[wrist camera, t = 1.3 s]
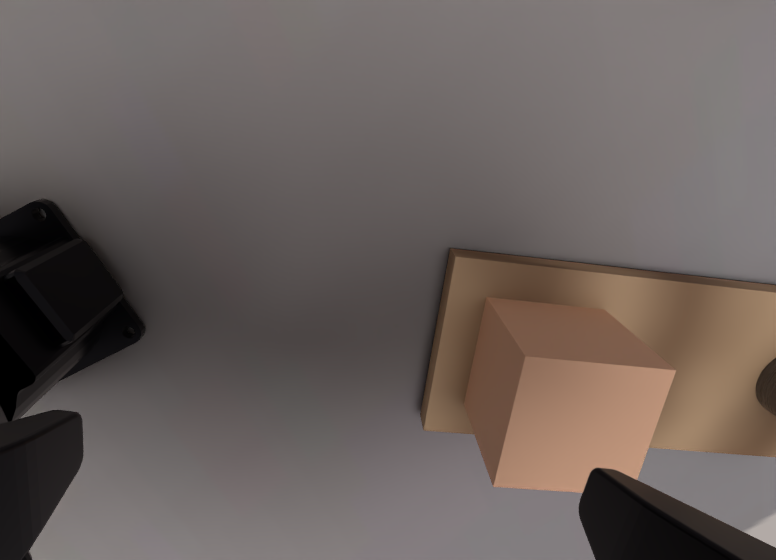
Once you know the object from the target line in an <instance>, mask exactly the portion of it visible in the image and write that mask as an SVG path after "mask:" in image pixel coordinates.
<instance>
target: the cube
mask: <svg viewBox="0 0 776 560" xmlns="http://www.w3.org/2000/svg"><path fill="white" fill-rule="evenodd" d="M675 373H676V370H675V369H674V368H673V367H672V366H670V365H669V364H668V363H667V362H666V361H665V360H663V359H662V358H661V357H660V356H659V355H658V354H656V353H655V352H654V351H653V350H652V349H650V348H649V347H648V346H647V345H646V344H645V343H643V342H642V341H641V340H640V339H639V338H638V337H636V336H635V335H634V334H633V333H632V332H630V331H629V330H628V329H627V328H626V327H625V326H623V325H622V324H621V323H620V322H619V321H618V320H616V319H615V318H614V317H613V316H612V315H610V314H609V313H608V312H607V311H606V310H605V309H595V308H586V307H576V306H567V305H557V304H548V303H538V302H528V301H519V300H509V299H500V298H490V297H486V301H485V306H484V311H483V316H482V320H481V325H480V330H479V335H478V339H477V344H476V349H475V354H474V358H473V363H472V368H471V373H470V377H469V382H468V387H467V392H466V396H465V401H464V406H465V409H466V412H467V415H468V417H469V420H470V423H471V426H472V429H473V431H474V434H475V437H476V440H477V443H478V445H479V448H480V451H481V454H482V457H483V459H484V462H485V465H486V468H487V471H488V473H489V476H490V479H491V482H492V485H493V487H505V488H520V489H535V490H550V491H565V492H581V493H583V491H584V488H585V485H586V482H587V480H588V477H589V474H590V472H591V471H592V470H593V469H594V468H607V469H614V470H617V471H619V472H622V473H624V474H626V475H628V476H630V477H632V478H634V479H636V480H637V479H638V476H639V473H640V470H641V467H642V465H643V462H644V459H645V456H646V454H647V451H648V448H649V445H650V442H651V440H652V437H653V434H654V431H655V428H656V426H657V423H658V420H659V417H660V414H661V412H662V409H663V406H664V403H665V400H666V398H667V395H668V392H669V389H670V387H671V384H672V381H673V378H674V375H675Z"/></svg>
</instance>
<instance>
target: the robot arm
mask: <svg viewBox="0 0 776 560" xmlns="http://www.w3.org/2000/svg"><path fill="white" fill-rule="evenodd" d="M39 208H41V209H43V210H44V211H45V213H46V219H44V218H42V217H41V216H40V215H39V213H38V209H39ZM122 295H123V292H122V290H121V289H120V287H119V286H118V285H117V283H116V282H115V280H114V279H113V278H112V276H111V275H110V274H109V272H108V271H107V270H106V268H105V267H104V266H103V264H102V263H101V262H100V260H99V259H98V257H97V256H96V255H95V253H94V252H93V251H92V249H91V248H90V247H89V245H88V244H87V243H86V242H85V241H83V240H81V239H80V238H79V237H78V235H77V234H76V233H75V231H74V230H73V228H72V227H71V226H70V224H69V223H68V222H67V220H66V219H65V218H64V216H63V215H62V214H61V212H60V211H59V210H58V208H57V207H56V206H55V205H54V204H53V203H52V202H50V201H48V200H43V199H41V200H37V201H34V202H31V203H29V204H27V205H25V206H23V207H22V208H20V209H18V210H16V211H14V212H12V213H11V214H9V215H7V216H5V217H3V218H1V219H0V560H32V556H31V554H30V552H29V550H30V548H31V547H32V545H33V543H34V542H35V540H36V539H37V537H38V536H39V534H40V533H41V531H42V529H43V528H44V526H45V525H46V523H47V521H48V520H49V518H50V516H51V515H52V513H53V511H54V510H55V508H56V506H57V505H58V503H59V502H60V500H61V498H62V497H63V495H64V493H65V492H66V490H67V488H68V487H69V485H70V484H71V482H72V480H73V479H74V477H75V475H76V474H77V472H78V470H79V468H80V466H81V463H82V459H83V427H82V418H81V415H80V414H79V413H77V412H72V411H63V410H52V411H48V412H44V413H40V414H36V415H33V416H29V417H25V418H21V417H22V416H23V415H24V414H25V413H26V412H27V411H28V410H29V409H30V408H31V407H32V406H33V405H34V404H35V403H36V402H37V401H38V400H39V399H40V398H41V397H42V396H43V395H44V394H45V393H47V392H48V391H49V390H50V389H51V388H52V387H53V386H54V385H55V384H56V383H57V382H58V381H60V380H62V379H64V378H66V377H68V376H70V375H72V374H74V373H76V372H78V371H80V370H82V369H84V368H86V367H88V366H90V365H92V364H94V363H96V362H98V361H100V360H102V359H104V358H106V357H108V356H110V355H112V354H114V353H116V352H118V351H120V350H122V349H124V348H126V347H128V346H130V345H132V344H134V343H136V342H137V341H138V340H140V338H141V337H142V336H143V335H144V333H145V327H144V325H143V323H142V322H141V320H140V319H139V317H138V316H137V315H136V313H135V312H134V311H133V309H132V308H131V307H130V305H129V304H128V303H127V301H126V300H125V299H124V297H123V296H122ZM126 327H131V328H132V329H134V331H135V334H131V333H129V332H128V331H127V329H126ZM19 418H21V419H19ZM579 516H580V520H581V522H582V525H583V528H584V530H585V533H586V536H587V538H588V541H589V544H590V546H591V549H592V551H593V554H594V557H595V559H596V560H776V548H775V547H773V546H771V545H769V544H766V543H765V542H763V541H760V540H758V539H756V538H754V537H752V536H750V535H748V534H746V533H744V532H742V531H740V530H738V529H736V528H734V527H732V526H730V525H728V524H726V523H724V522H722V521H720V520H718V519H716V518H714V517H712V516H709V515H707V514H705V513H703V512H701V511H699V510H697V509H695V508H693V507H691V506H689V505H687V504H685V503H683V502H681V501H679V500H677V499H675V498H673V497H671V496H669V495H667V494H664V493H662V492H660V491H658V490H656V489H654V488H652V487H650V486H648V485H646V484H644V483H642V482H640V481H638V480H636V479H634V478H632V477H630V476H628V475H626V474H624V473H622V472H619V471H617V470H614V469H607V468H594V469H593V470H592V471H591V472H590V474H589V477H588V480H587V482H586V485H585V488H584V491H583V494H582V496H581V499H580V503H579Z"/></svg>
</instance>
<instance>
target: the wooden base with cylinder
mask: <svg viewBox="0 0 776 560" xmlns="http://www.w3.org/2000/svg"><path fill="white" fill-rule="evenodd" d="M486 297H490V298H500V299H509V300H519V301H528V302H538V303H548V304H557V305H567V306H576V307H586V308H595V309H605V310H606V311H607V312H608V313H609V314H610V315H612V316H613V317H614V318H615V319H616V320H618V321H619V322H620V323H621V324H622V325H623V326H625V327H626V328H627V329H628V330H629V331H630V332H632V333H633V334H634V335H635V336H636V337H638V338H639V339H640V340H641V341H642V342H643V343H645V344H646V345H647V346H648V347H649V348H650V349H652V350H653V351H654V352H655V353H656V354H658V355H659V356H660V357H661V358H662V359H663V360H665V361H666V362H667V363H668V364H669V365H670V366H672V367H673V368H674V369H675V370H676V373H675V375H674V378H673V381H672V384H671V387H670V389H669V392H668V395H667V398H666V400H665V403H664V406H663V409H662V412H661V414H660V417H659V420H658V423H657V426H656V428H655V431H654V434H653V437H652V440H651V442H650V445H649V448H661V449H675V450H688V451H701V452H714V453H727V454H740V455H753V456H767V457H776V285H770V284H761V283H752V282H743V281H734V280H726V279H717V278H708V277H699V276H690V275H682V274H673V273H664V272H655V271H646V270H638V269H629V268H620V267H611V266H602V265H594V264H585V263H576V262H567V261H558V260H550V259H541V258H532V257H523V256H514V255H506V254H497V253H488V252H479V251H470V250H462V249H453V248H450V252H449V258H448V263H447V269H446V274H445V280H444V286H443V291H442V297H441V302H440V308H439V313H438V319H437V325H436V330H435V336H434V341H433V347H432V352H431V358H430V363H429V369H428V375H427V380H426V386H425V391H424V397H423V402H422V408H421V413H420V415H421V420H422V425H423V430H425V431H438V432H451V433H464V434H474V431H473V429H472V426H471V423H470V420H469V417H468V415H467V412H466V409H465V406H464V401H465V396H466V392H467V387H468V382H469V377H470V373H471V368H472V363H473V358H474V354H475V349H476V344H477V339H478V335H479V330H480V325H481V320H482V316H483V311H484V306H485V301H486Z"/></svg>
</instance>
